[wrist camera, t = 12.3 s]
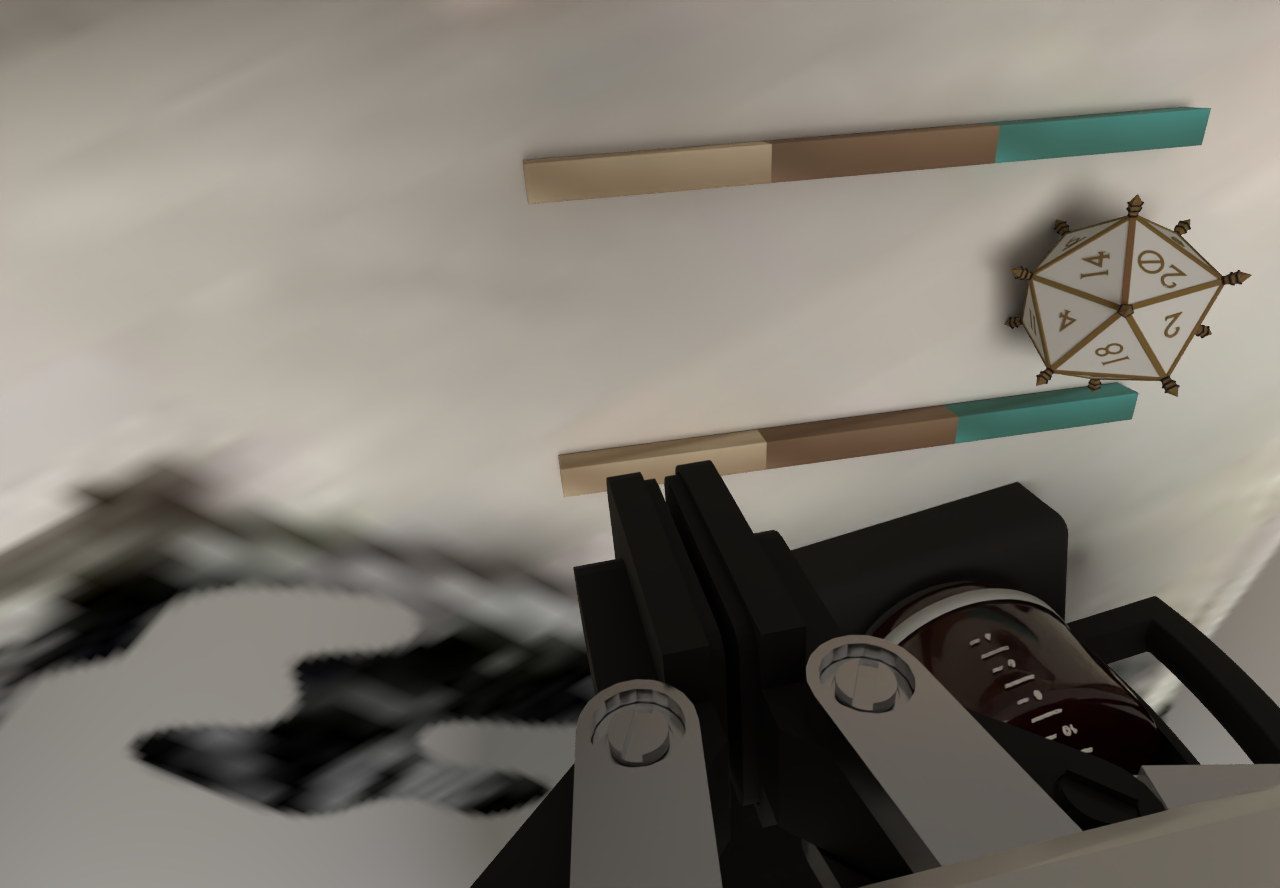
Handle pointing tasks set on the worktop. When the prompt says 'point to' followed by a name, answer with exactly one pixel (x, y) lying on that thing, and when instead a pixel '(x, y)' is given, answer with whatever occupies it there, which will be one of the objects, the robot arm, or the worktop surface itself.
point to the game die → (1119, 300)
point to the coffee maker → (1007, 648)
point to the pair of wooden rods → (838, 160)
